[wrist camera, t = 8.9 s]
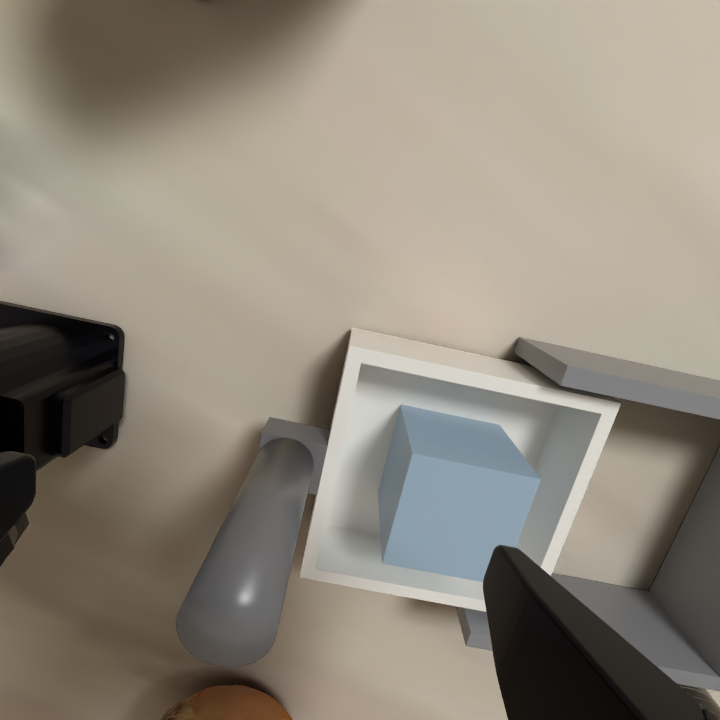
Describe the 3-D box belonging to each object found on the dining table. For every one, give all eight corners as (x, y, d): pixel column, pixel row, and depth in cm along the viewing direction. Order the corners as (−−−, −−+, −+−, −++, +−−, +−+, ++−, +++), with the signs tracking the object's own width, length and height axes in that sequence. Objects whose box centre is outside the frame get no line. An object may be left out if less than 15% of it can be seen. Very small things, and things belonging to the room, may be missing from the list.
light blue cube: (377, 492, 22) (382, 563, 17) (400, 404, 20) (412, 453, 16) (470, 510, 22) (501, 585, 17) (499, 424, 21) (541, 479, 16)
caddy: (259, 514, 23) (156, 779, 11) (294, 314, 20) (203, 405, 9) (506, 561, 23) (639, 855, 12) (575, 375, 21) (834, 533, 9)
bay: (445, 565, 24) (466, 645, 19) (519, 337, 20) (567, 365, 16) (656, 604, 24) (728, 692, 20) (763, 390, 21) (883, 433, 16)
